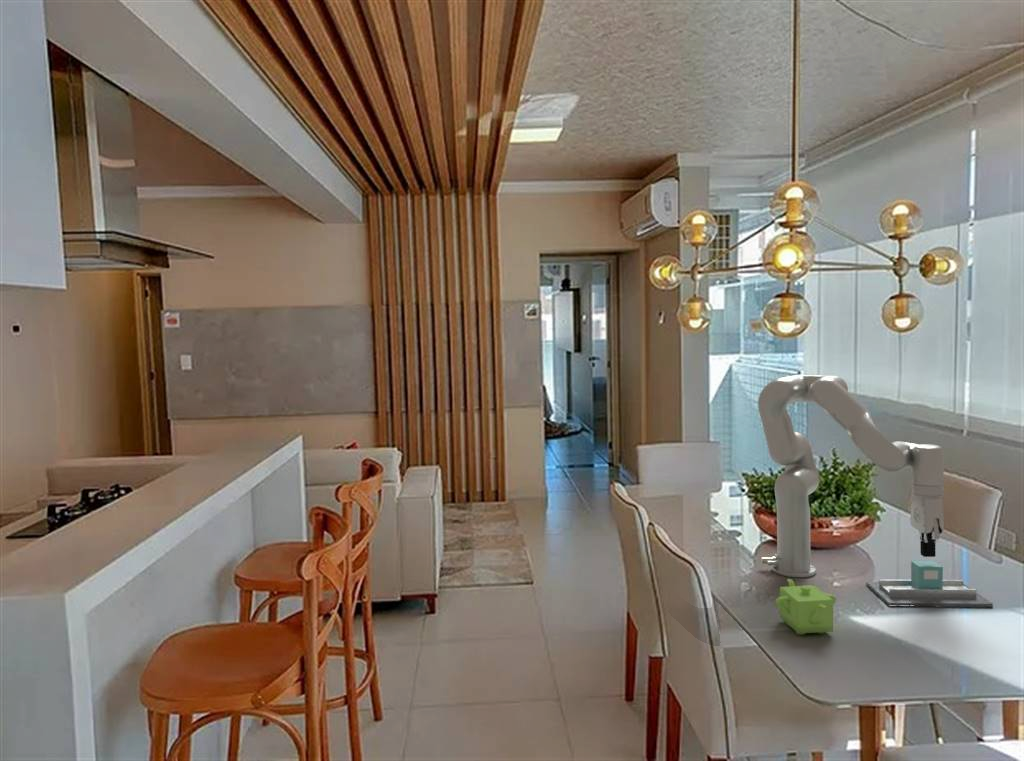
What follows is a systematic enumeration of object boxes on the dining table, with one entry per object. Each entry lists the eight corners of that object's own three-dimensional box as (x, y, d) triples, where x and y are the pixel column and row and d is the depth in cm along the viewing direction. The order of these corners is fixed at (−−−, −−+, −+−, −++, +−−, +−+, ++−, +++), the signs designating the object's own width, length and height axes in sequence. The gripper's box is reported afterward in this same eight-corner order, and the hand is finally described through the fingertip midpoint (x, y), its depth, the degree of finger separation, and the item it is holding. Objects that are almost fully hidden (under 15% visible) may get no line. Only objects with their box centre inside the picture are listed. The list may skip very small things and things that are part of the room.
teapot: (857, 643, 172) (857, 600, 171) (793, 647, 171) (793, 603, 170) (816, 611, 192) (816, 572, 191) (759, 614, 191) (759, 575, 190)
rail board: (889, 606, 193) (889, 594, 193) (866, 585, 209) (866, 574, 209) (992, 607, 190) (992, 595, 190) (961, 585, 206) (961, 574, 206)
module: (919, 592, 197) (919, 566, 197) (911, 585, 202) (911, 560, 202) (942, 592, 197) (942, 567, 196) (933, 585, 202) (934, 561, 201)
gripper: (901, 484, 205) (901, 547, 207) (925, 496, 191) (926, 564, 192) (929, 484, 205) (929, 547, 206) (956, 495, 190) (956, 564, 191)
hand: (927, 555), depth 199 cm, fingers closed
